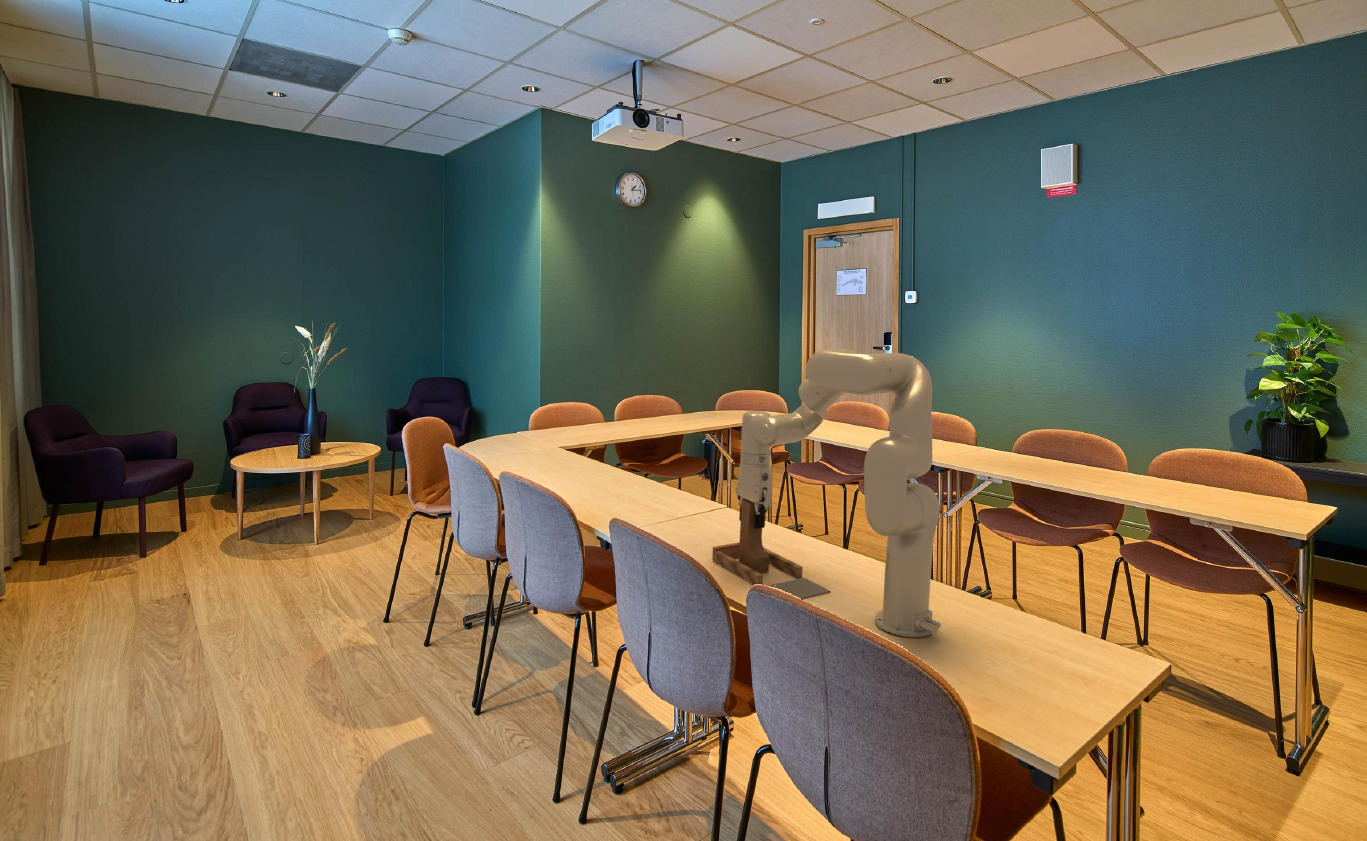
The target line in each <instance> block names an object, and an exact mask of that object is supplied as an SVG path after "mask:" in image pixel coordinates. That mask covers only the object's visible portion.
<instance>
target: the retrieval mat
mask: <svg viewBox="0 0 1367 841" xmlns="http://www.w3.org/2000/svg"><path fill="white" fill-rule="evenodd" d="M775 585H776V586H775ZM767 586H771V587H775V588H778V589H781V590H783V591H785V592H788V593H791V594H792V595H794V596H797V597H799V598H801V600H804V599H809V598H812V597H813V596H814V597H817V596H820V595H826V594H830V592H831V590H829V589H828V588H826V587H824V586H823V585H822V586H821V585H820V584H819V583H818V584H817V583H816V582H814V581H812V580H810V579H808V578H806V577H802V578H799V579H797V578H795V579H791V580H787V581H783V582H778V583H773V584H770V585H769V584H768V585H767Z"/></svg>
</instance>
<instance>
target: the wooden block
mask: <svg viewBox="0 0 1367 841" xmlns="http://www.w3.org/2000/svg"><path fill="white" fill-rule="evenodd" d="M760 502H762V501H761V500H760ZM761 506H762V504H759V509H760V508H761ZM740 507H741V521H740V523H739V524H740V525H739V528H740V529H739V558H738V561H739V562H740V563H742V564H744V565H746V566H748V567H749V568H751V569H753V570H755V571H757V572H758V573H760V574H763V573H762V572H764V573H768V572H769V569H770V564H769V555H768V554H767V553H766V552H765V551H764V548H765V547H764V545H763V528H759V529H755V528H754V514H756V510H755V504H754V503H753V502H751V501H749V500H746V499H742V506H740ZM763 547H764V548H763Z"/></svg>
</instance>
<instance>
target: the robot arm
mask: <svg viewBox="0 0 1367 841" xmlns="http://www.w3.org/2000/svg"><path fill="white" fill-rule="evenodd" d="M805 374H806V379H805V380H804V381H803V382H801V384H800V385H799V387H798V396H799V398H800V400H801V402H802V404H801V405H800V406H799V407H798V408H796V409H795V410H794V411H793V412H791V413H784V414H783V413H782V414H775V415H771V414H770V413H769V412H766V411H762V410H748V411H745V412H744V413H743V415H742V418H741V419H742V420H741V421H742V422H741V440H740V442H741V444H740V447H741V448H740V463H739V468H738V476H737V487H736V488H735V491H734V492H735V494H736V496H737V499H738V506H739V515H738V516H739V519H738V520H739V521H740V522H741V506H742V499H746V500H749V501H751V502H753V503H754V504H755V510H756V514H754V528H755V529H759V528H762V529H763V528H765V527H766V514H768V511H769V509H770V508H771V507H772V506H773V503H772V500H773V499H772V498H773V477H772V469H771V466H770V454H771V447H775V446H781V445H786V444H793V443H798V442H801V441H802V440H805V439H806V438H807V437H808V436H809V435H811V434H812V433H813V432H815V430H816V429H817V428H819V426H821V424H822V423H823V421H824V419H825V417H826V415H827V410H828V409H829V408H830V407H831V406H832V405H833V404H834V403H835V402H836V401H837V400H838V399H840V398H841V397H842V396H844V394H845V393H848V394H854V395H863V396H864V395H867V396H868V395H878V394H886V393H891V394H894V399H893V401H892V403H891V406H890V409H889V434H888V435H889V436H886V437H882V438H879V439H877V440H875V441H874V442H873V443H872V444H871V445H870V446H869V448H868V449H867V451H866V454H865V457H864V462H863V463H864V464H863V466H864V467H863V476H864V478H863V479H864V480H863V481H864V482H863V483H864V512H865V516H866V520H867V522H868V524H869V526H870V528H871V529H872V530H873V531H874V532H875V533H877V534H878V535H881V536H883V537H887V541H886V544H885V545H886V546H885V547H886V548H885V562H884V563H885V564H884V565H885V566H884V579H883V582H884V583H883V600H882V610H880V611H878V612H876V614H875V616H874V623H875V624H876V626H877V627H878V628H880V629H881V630H882V629H883V630H882V631H884V630H885V632H886V631H887V632H886V633H888V632H891V633H894V634H896V635H895V636H898V635H899V637H906V638H922V637H928V636H930V635H933V636H934V635H936V634H937V633H938V631H939V629H940V628H941V627H942V624H941V622H939V621H937V620H934V619H933V611H932V610H930V609H929V608H930V596H931V595H930V592H931V576H932V565H933V564H932V563H933V562H932V561H933V552H934V551H933V549H934V539H935V534H936V530H937V526H938V521H939V517H940V500H939V499H938V495H937V494H936V492H934V490H933V489H932V488H930V487H929V486H927V485H926V484H923V483H918V482H911V483H910V482H909V483H907V482H908V480H912V479H916V478H918V477H921V476H923V475H925V474H927V473H928V472H929V471H930V470H931V467H932V464H933V420H932V418H933V417H932V408H933V407H932V406H933V404H932V403H933V382H932V378H931V375H930V372H929V370H928V369H927V367H926V366H925V364H924V363H923V362H921V361H920V360H919V359H917V358H916V357H914V356H912V355H909V354H906V353H901V352H882V353H867V354H866V353H864V354H863V353H857V352H856V351H855V350H852V349H849V348H832V349H831V348H829V349H821V350H819V351H816V352H814V353H813V355H811V356H810V357H809V359H808V361H807V363H806V366H805ZM760 500H761V501H762V502H760ZM759 504H762V506H761V508H760V509H759ZM891 633H890V634H891ZM894 634H893V635H894Z"/></svg>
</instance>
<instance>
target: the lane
mask: <svg viewBox="0 0 1367 841" xmlns="http://www.w3.org/2000/svg"><path fill="white" fill-rule="evenodd" d="M739 542H740V541H739ZM739 542H733V543H728V544H723V545H717V546H712V555H711V556H712V560H713V561H714V563H715V562H716V563H715V564H717V563H718V564H720V565H721V566H720V565H719V566H720V567H722V568H723V567H724V569H725V568H726V569H725V570H727V571H729V572H730V571H731V572H730V573H732V572H733V573H732V574H734V575H735V574H736V575H735V576H737V575H738V576H737V577H739V576H740V577H741V579H742V578H743V579H742V580H744V579H745V580H744V581H746V580H747V581H749V582H750V583H749V582H748V583H749V584H751V583H752V584H751V585H752V586H754V584H762V585H763V583H764V582H763V580H764V575H763V573H758V572H757V571H755V570H753V569H751V568H749V567H748V566H746V565H744V564H742V563H740V562H739V560H737V558H738V559H739ZM763 548H764V551H765V552H766V553H767V554H768V555H769V565H770V564H771V565H770V566H772V567H774V568H776V569H778V570H780V571H782V572H784V573H786V574H787V575H790V576H791V577H793V578H795V579H801V578H803V566H801V565H800V564H798V563H796V562H794V561H792V560H790V559H788V558H786V557H784V556H782V555H780V554H778V553H776V552H773V551H772V550H770V549H767V548H766V547H764V546H763ZM712 560H711V561H712ZM713 561H712V562H713ZM718 564H717V565H718ZM740 577H739V578H740ZM747 581H746V582H747Z"/></svg>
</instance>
